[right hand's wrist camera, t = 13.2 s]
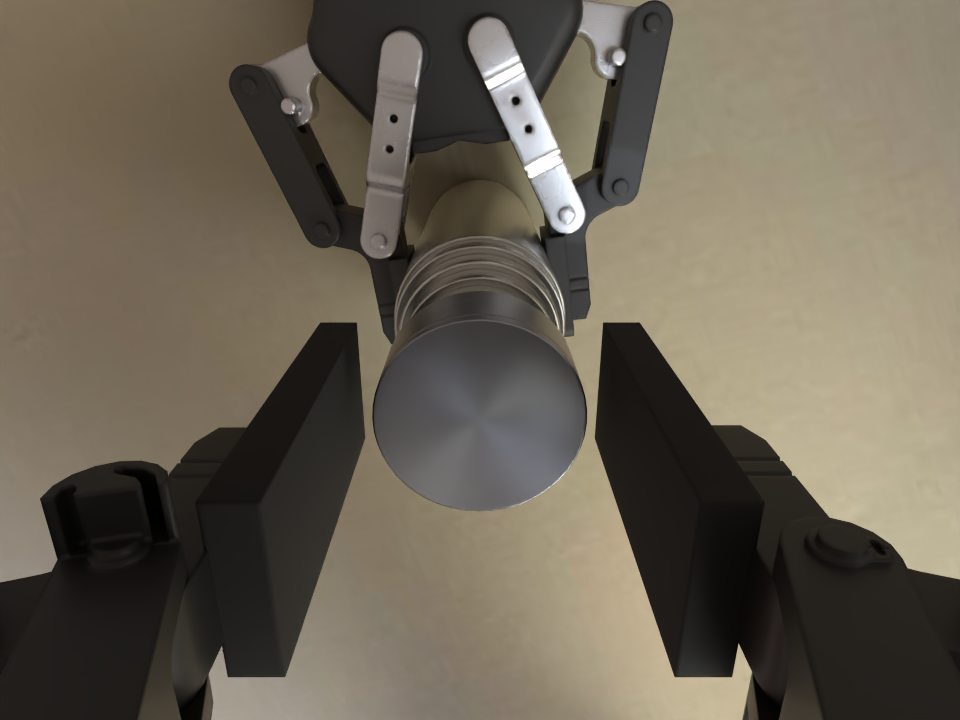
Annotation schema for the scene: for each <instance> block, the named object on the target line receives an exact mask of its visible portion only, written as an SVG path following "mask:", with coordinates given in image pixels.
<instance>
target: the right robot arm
mask: <svg viewBox="0 0 960 720" xmlns="http://www.w3.org/2000/svg"><path fill="white" fill-rule="evenodd" d="M364 440H365V430H364V416H363V402H362V388H361V375H360V361H359V347H358V333H357V323H320V324H319V325H318V327H317V328H316V330H315V331H314V333H313V334H312V335H311V337H310V338H309V340H308V341H307V343H306V344H305V345H304V347H303V348H302V350H301V351H300V353H299V354H298V355H297V357H296V358H295V360H294V361H293V363H292V364H291V365H290V367H289V368H288V370H287V371H286V373H285V374H284V375H283V377H282V378H281V380H280V381H279V383H278V384H277V385H276V387H275V388H274V390H273V391H272V393H271V394H270V395H269V397H268V398H267V400H266V401H265V403H264V404H263V406H262V407H261V408H260V410H259V411H258V413H257V414H256V416H255V417H254V418H253V420H252V421H251V423H250V424H249V426H248V427H247V428H218V429H216V430H215V431H213V432H211V433H210V434H208V435H206V436H205V437H203V438H201V439H200V440H198V441H197V442H195V443H194V444H193V445H192V447H191V448H190V449H189V450H188V452H187V453H186V454H185V455H184V456H183V458H182V459H181V463H178V464H177V465H176V466H175V467H174V469H173V470H172V471H171V472H170V474H169V477H168V472H167V471H166V470H165V469H163V468H162V467H161V466H159V465H158V464H154V463H149V462H144V461H119V462H114V463H109V464H104V465H99V466H94V467H92V468H89V469H86V470H84V471H81V472H78V473H75V474H73V475H71V476H69V477H67V478H65V479H64V480H62V481H60V482H59V483H57V484H55V485H54V486H52V487H51V488H50V489H49V490H48V491H47V492H46V493H45V494H44V495H43V496H42V497H41V498H40V500H41V504H42V507H43V511H44V514H45V518H46V521H47V525H48V528H49V532H50V535H51V538H52V542H53V545H54V549H55V552H56V556H57V559H58V560H57V562H56V564H55V566H54V568H53V570H52V572H48V573H45V574H41V575H36V576H31V577H26V578H21V579H16V580H11V581H6V582H1V583H0V720H211V717H212V709H213V698H212V690H211V685H210V680H209V675H208V674H209V672H210V670H211V667H212V665H213V663H214V661H215V659H216V657H217V655H218V652H219V650H220V648H221V646H222V648H223V653H224V659H225V664H226V669H227V675H228V677H285V676H286V673H287V670H288V667H289V664H290V661H291V658H292V655H293V652H294V649H295V646H296V643H297V640H298V637H299V634H300V632H301V629H302V626H303V623H304V620H305V617H306V614H307V611H308V608H309V605H310V602H311V599H312V596H313V593H314V590H315V587H316V584H317V581H318V578H319V575H320V572H321V569H322V566H323V563H324V560H325V557H326V554H327V551H328V548H329V545H330V542H331V539H332V536H333V533H334V530H335V527H336V524H337V521H338V518H339V515H340V512H341V509H342V506H343V503H344V500H345V497H346V494H347V491H348V488H349V485H350V482H351V479H352V476H353V473H354V470H355V467H356V464H357V461H358V458H359V455H360V452H361V449H362V446H363V443H364ZM595 440H596V443H597V446H598V449H599V452H600V455H601V458H602V461H603V464H604V467H605V470H606V473H607V476H608V479H609V482H610V485H611V488H612V491H613V494H614V497H615V500H616V503H617V506H618V509H619V512H620V515H621V518H622V521H623V524H624V527H625V530H626V533H627V536H628V539H629V542H630V545H631V548H632V551H633V554H634V557H635V560H636V563H637V566H638V569H639V572H640V575H641V578H642V581H643V584H644V587H645V590H646V593H647V596H648V599H649V602H650V605H651V608H652V611H653V614H654V617H655V620H656V623H657V626H658V628H659V631H660V634H661V637H662V640H663V643H664V646H665V649H666V652H667V655H668V658H669V661H670V664H671V667H672V670H673V673H674V676H675V677H732V675H733V669H734V664H735V659H736V653H737V648H738V643H739V645H740V647H741V649H742V651H743V653H744V655H745V657H746V660H747V662H748V664H749V666H750V668H751V670H752V675H751V680H750V685H749V690H748V695H747V700H746V705H745V710H744V715H743V719H742V720H960V580H959V579H954V578H949V577H944V576H939V575H934V574H929V573H924V572H920V571H916V570H912V569H908V568H907V567H906V565H905V563H904V561H903V559H902V557H901V556H900V555H899V554H898V553H897V551H896V550H895V549H894V548H893V546H892V545H891V544H889V543H888V542H886V541H885V540H884V539H882V538H881V537H879V536H878V535H876V534H875V533H873V532H871V531H869V530H867V529H864V528H862V527H860V526H857V525H855V524H853V523H850V522H846V521H841V520H837V519H833V518H829V517H828V515H827V514H826V513H825V512H824V510H823V509H822V508H821V507H820V506H819V504H818V503H817V502H816V501H815V500H814V498H813V497H812V496H811V495H810V494H809V492H808V491H807V490H806V489H805V487H804V486H803V485H802V484H801V483H800V481H799V480H798V479H797V478H796V477H795V476H792V472H791V470H790V469H789V468H788V467H787V466H786V464H785V463H784V462H783V461H780V457H779V456H778V455H777V454H776V452H775V451H774V450H773V449H772V447H771V446H770V445H769V444H768V443H767V441H766V440H764V439H763V438H761V437H759V436H758V435H756V434H754V433H753V432H751V431H749V430H748V429H746V428H744V427H743V426H741V425H711V424H710V423H709V421H708V420H707V418H706V417H705V416H704V414H703V413H702V411H701V410H700V408H699V407H698V405H697V404H696V403H695V401H694V400H693V398H692V397H691V395H690V394H689V393H688V391H687V390H686V388H685V387H684V385H683V384H682V383H681V381H680V380H679V378H678V377H677V375H676V374H675V373H674V371H673V370H672V368H671V367H670V365H669V364H668V363H667V361H666V360H665V358H664V357H663V355H662V354H661V353H660V351H659V350H658V348H657V347H656V345H655V344H654V343H653V341H652V340H651V338H650V337H649V335H648V334H647V333H646V331H645V330H644V328H643V327H642V325H641V324H640V323H603V334H602V347H601V361H600V375H599V389H598V402H597V416H596V430H595Z"/></svg>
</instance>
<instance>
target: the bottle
mask: <svg viewBox="0 0 960 720" xmlns="http://www.w3.org/2000/svg"><path fill="white" fill-rule="evenodd" d="M472 291H487V292H497V293H501V294H506V295H509V296H512V297H515V298H518V299H520V300H522V301H524V302H526V303H528V304H530V305H532V306H533V307H535V308H536V309H538V310H539V311H541V312H542V313H543V314H544V315H545V316H546V317H548V318H549V319H550V320H551V321H552V322H553V324H554V325H555V326H556V327H557V328H558V330H559V331H560V333H561V334H562V336H563V337H564V335H565V305H564V299H563V296H562V292H561V289H560V287H559V284H558V282H557V279H556V277H555V275H554V272H553V270H552V267H551V265H550V263H549V260H548V258H547V255H546V253H545V251H544V248H543V246H542V243H541V241H540V238H539V236H538V234H537V231H536V229H535V226H534V224H533V222H532V219H531V217H530V214H529V212H528V210H527V208H526V206H525V204H524V203H523V201H522V200H521V199H520V198H519V196H517V195H516V194H515V193H514V192H513V191H512V190H510V189H509V188H507V187H506V186H504V185H502V184H499V183H497V182H493V181H489V180H471V181H466V182H463V183H460V184H458V185H456V186H454V187H452V188H451V189H449V190H448V191H447V192H446V193H444V194H443V195H442V196H441V197H440V199H439V200H438V201H437V202H436V204H435V205H434V207H433V209H432V211H431V213H430V216H429V218H428V221H427V223H426V225H425V228H424V230H423V233H422V235H421V237H420V240H419V242H418V245H417V247H416V249H415V252H414V254H413V257H412V259H411V261H410V264H409V266H408V269H407V271H406V273H405V276H404V278H403V281H402V283H401V286H400V288H399V291H398V294H397V297H396V303H395V309H394V323H395V324H394V330H395V338H396V336H397V335H398V333H399V332H400V331H401V329H402V328H403V326H404V325H405V324H406V323H407V322H408V321H409V320H410V319H411V318H412V317H413V316H414V315H415V314H416V313H418V312H419V311H420V310H421V309H423V308H425V307H426V306H428V305H429V304H431V303H433V302H435V301H437V300H439V299H442V298H444V297H447V296H450V295H454V294H458V293H464V292H472Z"/></svg>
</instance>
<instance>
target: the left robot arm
mask: <svg viewBox="0 0 960 720" xmlns="http://www.w3.org/2000/svg"><path fill="white" fill-rule="evenodd" d="M672 26H673V16H672V13H671V10H670V9H669V7H668V6H667V5H666V4H665V3H663V2H661V1H656V0H653V1H648V2H646V3H644V4H642V5H640V6H638V7H629V6H622V5H615V4H608V3H601V2H593V1H586V0H314V2H313V12H312V17H311V21H310V24H309V27H308V33H307V43H306V44H303V45H301V46H299V47H297V48H295V49H293V50H291V51H289V52H287V53H285V54H283V55H281V56H279V57H276V58H274V59H272V60H270V61H268V62H266V63H264V64H262V65H256V64H251V65H248V64H245V65H240V66H238V67H237V68H235V69H234V70H233V72H232V73H231V76H230V79H229V87H230V91H231V93H232V95H233V97H234V99H235V101H236V103H237V105H238V107H239V109H240V111H241V113H242V115H243V117H244V118H245V120H246V122H247V124H248V126H249V128H250V130H251V132H252V134H253V136H254V138H255V140H256V142H257V144H258V146H259V147H260V149H261V151H262V153H263V155H264V157H265V159H266V161H267V163H268V165H269V167H270V169H271V171H272V173H273V175H274V176H275V178H276V180H277V182H278V184H279V186H280V188H281V190H282V192H283V194H284V196H285V198H286V200H287V202H288V204H289V206H290V207H291V209H292V211H293V213H294V215H295V217H296V219H297V221H298V223H299V225H300V227H301V229H302V231H303V233H304V235H305V236H306V238H307V240H308V241H309V242H310V243H311V244H312V245H314V246H316V247H319V248H328V247H331V246H337V247H342V248H346V249H351V250H355V251H357V252H359V253H360V254H362V255H363V256H364V257H365V258H366V260H367V261H368V263H369V265H370V268H371V273H372V278H373V283H374V288H375V293H376V298H377V303H378V308H379V313H380V316H381V322H382V327H383V332H384V334H385V335H386V337H387V338H388V340H389V341H390V343H391V344H393V342H394V340H395V330H394V324H395V323H394V309H395V303H396V297H397V294H398V291H399V288H400V286H401V283H402V281H403V278H404V276H405V273H406V271H407V269H408V266H409V264H410V261H411V259H412V257H413V254H414V252H415V249H414V245H407V241H406V235H405V230H404V229H405V222H406V216H407V209H408V203H409V196H410V190H411V184H412V180H413V176H414V170H415V164H416V158H417V154H419V153H426V152H433V151H437V150H440V149H442V148H444V147H446V146H449V145H451V144H453V143H455V142H458V141H468V142H475V143H483V144H488V143H495V142H502V141H508V140H509V138H510V141H511V143H512V145H513V147H514V149H515V151H516V153H517V156H518V158H519V160H520V162H521V164H522V166H523V168H524V170H525V172H526V175H527V177H528V179H529V181H530V183H531V185H532V188H533V190H534V192H535V194H536V196H537V198H538V200H539V203H540V205H541V207H542V209H543V211H544V219H545V226H541V227H540V236H541V243H542V246H543V248H544V251H545V253H546V255H547V258H548V260H549V263H550V265H551V267H552V270H553V272H554V275H555V277H556V279H557V282H558V284H559V287H560V289H561V292H562V296H563V299H564V305H565V335H564V337H569V336H574V325H573V320H577V319H585V318H586V317H587V314H588V311H589V308H590V304H591V303H590V291H589V278H588V266H587V254H586V241H585V234H586V230H587V227H588V225H589V224H590V222H591V221H592V220H593V219H594V218H595V217H596V216H598V215H600V214H602V213H604V212H605V211H607V210H609V209H611V208H613V207H615V206H624V205H627V204H629V203H630V202H631V201H633V200H634V198H635V197H636V196H637V193H638V190H639V186H640V181H641V176H642V171H643V167H644V162H645V157H646V152H647V147H648V142H649V138H650V133H651V128H652V123H653V118H654V113H655V108H656V104H657V99H658V94H659V89H660V84H661V79H662V74H663V70H664V65H665V60H666V55H667V50H668V45H669V40H670V36H671V31H672ZM576 36H578V37H581V38H582V39H584V40H585V41H586V43H587V44H588V46H589V48H590V52H591V66H592V69H593V71H594V73H595V74H596V75H597V76H598V77H600V78H602V79H607V80H608V81H607V87H606V92H605V98H604V104H603V109H602V115H601V120H600V126H599V132H598V137H597V143H596V148H595V154H594V160H593V165H592V170H591V171H589V172H587V173H585V174H583V175H582V176H580V177H578V178H576V179H574V180H572V179H571V177H570V174H569V172H568V170H567V168H566V165H565V163H564V161H563V158H562V155H561V152H560V149H559V147H558V144H557V142H556V140H555V138H554V135H553V133H552V131H551V128H550V126H549V124H548V122H547V119H546V117H545V115H544V113H543V110H542V108H541V106H540V103H541V101H542V99H543V97H544V95H545V94H546V92H547V90H548V88H549V86H550V84H551V82H552V80H553V78H554V77H555V75H556V73H557V71H558V69H559V67H560V65H561V63H562V61H563V60H564V58H565V56H566V54H567V52H568V50H569V48H570V46H571V44H572V43H573V41H574V39H575V37H576ZM323 75H324V76H325V77H326V78H327V79H328V80H329V81H330V82H331V83H332V84H333V85H334V86H335V87H336V88H337V89H338V91H339V92H340V93H341V94H342V95H343V96H344V97H345V98H346V99H347V100H348V101H349V102H350V103H351V104H352V105H353V106H354V107H355V108H356V109H357V110H358V111H359V112H360V113H361V114H362V115H363V116H364V118H365V119H366V120H367V121H368V122H369V123H370V124H371V125H372V126H373V128H372V136H371V143H370V151H369V159H368V167H367V175H366V184H367V192H366V200H365V207H364V208H360V207H356V206H351V205H348V203H347V201H346V199H345V197H344V195H343V193H342V191H341V189H340V187H339V185H338V182H337V180H336V178H335V176H334V174H333V172H332V170H331V168H330V166H329V164H328V162H327V160H326V158H325V156H324V154H323V151H322V149H321V147H320V145H319V143H318V141H317V139H316V137H315V135H314V133H313V131H312V129H311V127H310V125H309V123H311V122H312V121H314V120H315V118H316V117H317V115H318V112H319V102H318V99H317V96H316V86H317V83H318V81H319V79H320V78H321V77H322V76H323Z"/></svg>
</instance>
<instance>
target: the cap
mask: <svg viewBox="0 0 960 720" xmlns="http://www.w3.org/2000/svg"><path fill="white" fill-rule="evenodd" d="M372 419H373V428H374V433H375V437H376V441H377V444H378V446H379V449H380V451H381V453H382V455H383V457H384V459H385V461H386V462H387V464H388V466H389V467H390V468H391V469H392V471H393V472H394V473H395V474H396V476H397V477H398V478H399V479H400V480H401V481H402V482H403V483H404V484H406V485H407V486H408V487H409V488H411V489H412V490H413V491H415V492H416V493H418V494H419V495H421V496H423V497H425V498H426V499H428V500H431V501H433V502H435V503H438V504H440V505H444V506H447V507H450V508H455V509H460V510H467V511H493V510H500V509H505V508H509V507H513V506H517V505H519V504H522V503H524V502H527V501H529V500H531V499H533V498H535V497H537V496H538V495H540V494H542V493H543V492H545V491H546V490H547V489H549V488H550V487H552V486H553V485H554V484H555V483H556V482H557V481H558V480H559V479H560V478H561V477H562V476H563V475H564V474H565V473H566V471H567V470H568V469H569V467H570V466H571V464H572V463H573V461H574V460H575V458H576V456H577V454H578V452H579V450H580V448H581V445H582V442H583V439H584V436H585V430H586V424H587V406H586V399H585V394H584V391H583V387H582V384H581V381H580V378H579V375H578V373H577V370H576V367H575V364H574V361H573V358H572V356H571V353H570V350H569V348H568V346H567V343H566V341H565V339H564V337H563V336H562V334H561V333H560V331H559V330H558V328H557V327H556V326H555V325H554V324H553V322H552V321H551V320H550V319H549V318H548V317H546V316H545V315H544V314H543V313H542V312H541V311H539V310H538V309H536V308H535V307H533V306H532V305H530V304H528V303H526V302H524V301H522V300H520V299H518V298H515V297H512V296H509V295H506V294H501V293H497V292H487V291H472V292H464V293H458V294H454V295H450V296H447V297H444V298H442V299H439V300H437V301H435V302H433V303H431V304H429V305H428V306H426V307H425V308H423V309H421V310H420V311H419V312H418V313H416V314H415V315H414V316H413V317H412V318H411V319H410V320H409V321H408V322H407V323H406V324H405V325H404V326H403V328H402V329H401V331H400V332H399V333H398V335H397V336H396V338H395V340H394V342H393V344H392V346H391V349H390V352H389V355H388V357H387V360H386V363H385V366H384V369H383V372H382V374H381V377H380V380H379V383H378V386H377V389H376V392H375V396H374V402H373V416H372Z"/></svg>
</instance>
